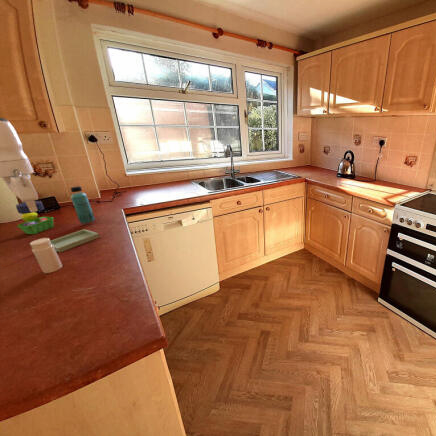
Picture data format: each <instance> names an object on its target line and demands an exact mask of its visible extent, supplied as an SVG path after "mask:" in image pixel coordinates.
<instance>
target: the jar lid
mask: <svg viewBox="0 0 436 436" xmlns="http://www.w3.org/2000/svg"><path fill="white" fill-rule="evenodd" d="M34 201H35V204H36V207H37V211H35V213H39V212H41V211H43V210H45V205H44V203H43V201H41V200H34ZM15 207H16V210H17V213H18V214H21V215H22V214H27V213H33V212H30V211H29V209H28V206H27V205H26V203H23V202H20V203H17V204H16V205H15Z"/></svg>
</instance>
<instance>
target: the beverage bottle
mask: <svg viewBox="0 0 436 436" xmlns="http://www.w3.org/2000/svg"><path fill="white" fill-rule="evenodd" d="M70 191H71V193H73V194H71V196H70V198H71V201H72V204H73V207H74V210H75V213H76V216H77V219H78V221H79V223H80V224H88V223H92V222H94V221H96V217H95V215H94V211H93V209H92V206H91V203H90V201H89V198H88V196H87V194H86V193H85V192H82V191H83V189H82V186H79V185H78V186H72V187H71V188H70Z"/></svg>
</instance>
